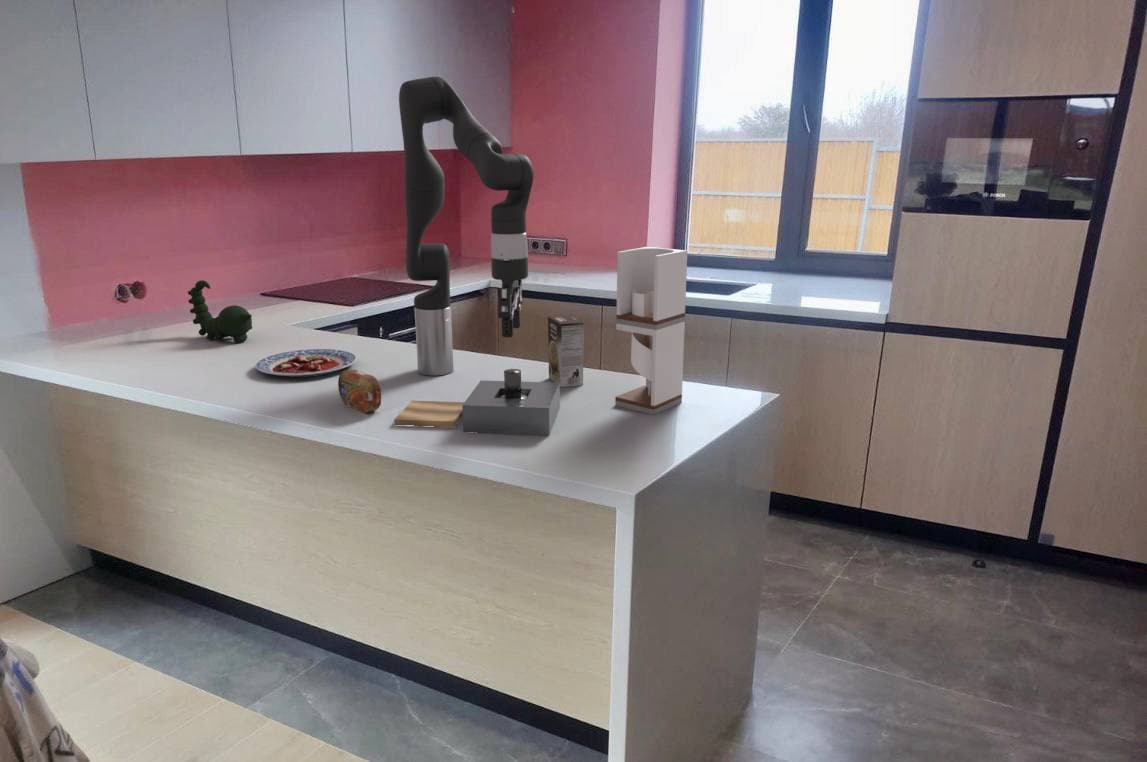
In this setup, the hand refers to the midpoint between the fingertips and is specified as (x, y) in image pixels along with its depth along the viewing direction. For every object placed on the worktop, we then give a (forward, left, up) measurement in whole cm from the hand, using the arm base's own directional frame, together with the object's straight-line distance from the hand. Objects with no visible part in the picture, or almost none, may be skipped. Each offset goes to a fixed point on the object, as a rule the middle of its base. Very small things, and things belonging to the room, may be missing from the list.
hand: (511, 332), depth 171 cm
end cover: (0, 0, -18) cm, 18 cm away
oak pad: (0, -18, -20) cm, 27 cm away
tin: (-5, -36, -20) cm, 41 cm away
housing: (0, 0, -20) cm, 20 cm away
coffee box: (-30, +8, -20) cm, 37 cm away
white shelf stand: (-14, +29, -20) cm, 38 cm away
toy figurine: (-64, -100, -20) cm, 120 cm away
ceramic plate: (-36, -62, -20) cm, 74 cm away
